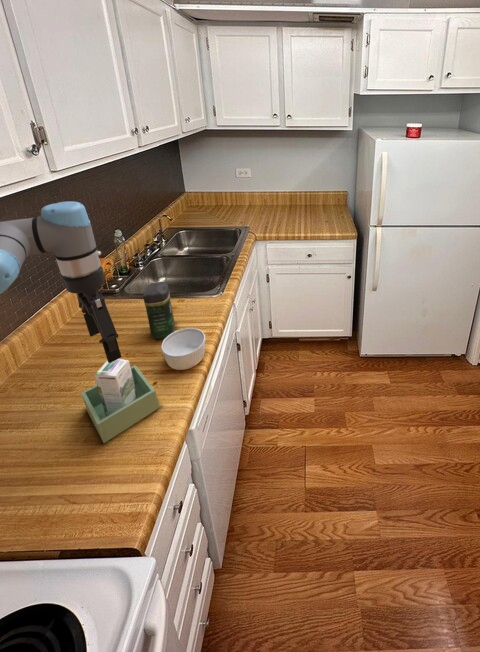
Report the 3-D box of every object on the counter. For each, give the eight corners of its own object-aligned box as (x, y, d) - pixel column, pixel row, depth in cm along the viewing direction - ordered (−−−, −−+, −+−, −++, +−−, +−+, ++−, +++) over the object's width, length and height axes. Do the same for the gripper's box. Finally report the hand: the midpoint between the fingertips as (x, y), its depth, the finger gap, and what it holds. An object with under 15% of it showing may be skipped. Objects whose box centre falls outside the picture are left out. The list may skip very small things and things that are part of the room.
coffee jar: (174, 337, 117) (166, 292, 110) (150, 342, 114) (139, 296, 108) (176, 321, 125) (169, 278, 118) (153, 325, 123) (144, 281, 116)
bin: (103, 443, 81) (97, 424, 78) (86, 410, 89) (80, 392, 87) (159, 408, 90) (155, 390, 88) (139, 381, 99) (135, 364, 96)
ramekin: (207, 368, 103) (204, 351, 101) (161, 377, 100) (157, 359, 97) (208, 341, 115) (205, 324, 113) (167, 348, 112) (163, 331, 109)
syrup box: (118, 398, 92) (106, 358, 87) (139, 399, 92) (128, 358, 87) (105, 417, 87) (92, 374, 82) (127, 418, 87) (115, 375, 81)
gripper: (120, 283, 69) (141, 362, 77) (84, 249, 84) (104, 318, 92) (79, 298, 64) (105, 381, 72) (48, 259, 79) (73, 331, 87)
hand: (105, 346), depth 82 cm, fingers open, 13 cm apart
